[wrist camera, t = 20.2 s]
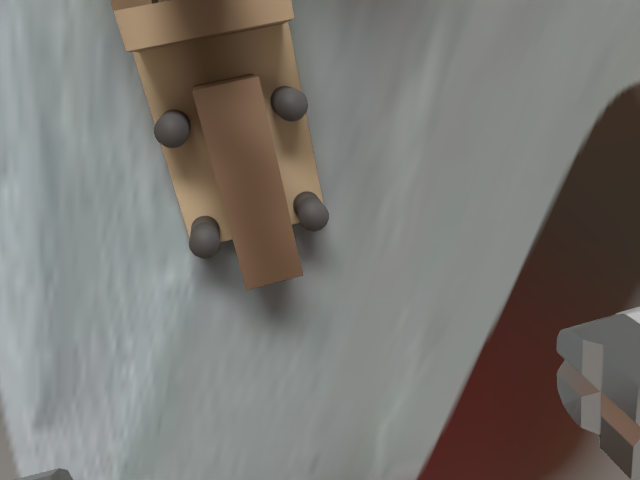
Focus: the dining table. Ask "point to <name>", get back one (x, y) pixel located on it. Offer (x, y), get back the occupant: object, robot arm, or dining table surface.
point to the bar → (248, 178)
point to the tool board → (213, 65)
